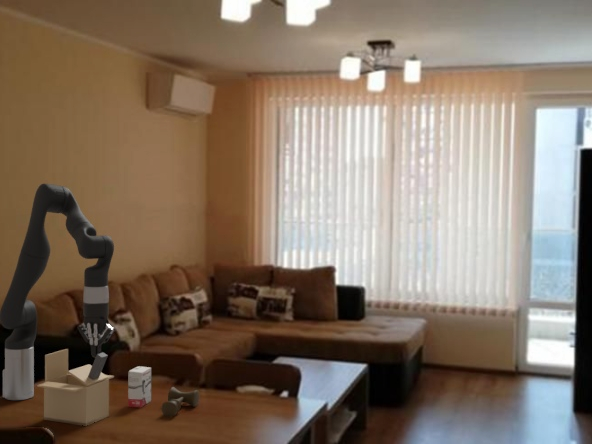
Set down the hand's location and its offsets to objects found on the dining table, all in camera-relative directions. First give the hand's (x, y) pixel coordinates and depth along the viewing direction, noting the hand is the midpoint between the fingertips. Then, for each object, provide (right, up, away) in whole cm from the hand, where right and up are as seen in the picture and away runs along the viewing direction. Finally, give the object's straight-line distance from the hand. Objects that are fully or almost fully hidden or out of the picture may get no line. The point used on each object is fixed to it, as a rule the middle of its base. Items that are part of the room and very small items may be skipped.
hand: (96, 356), depth 224 cm
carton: (-7, -20, +3) cm, 21 cm away
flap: (-3, -6, +1) cm, 7 cm away
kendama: (+23, -20, +15) cm, 34 cm away
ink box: (+9, -20, +20) cm, 29 cm away
